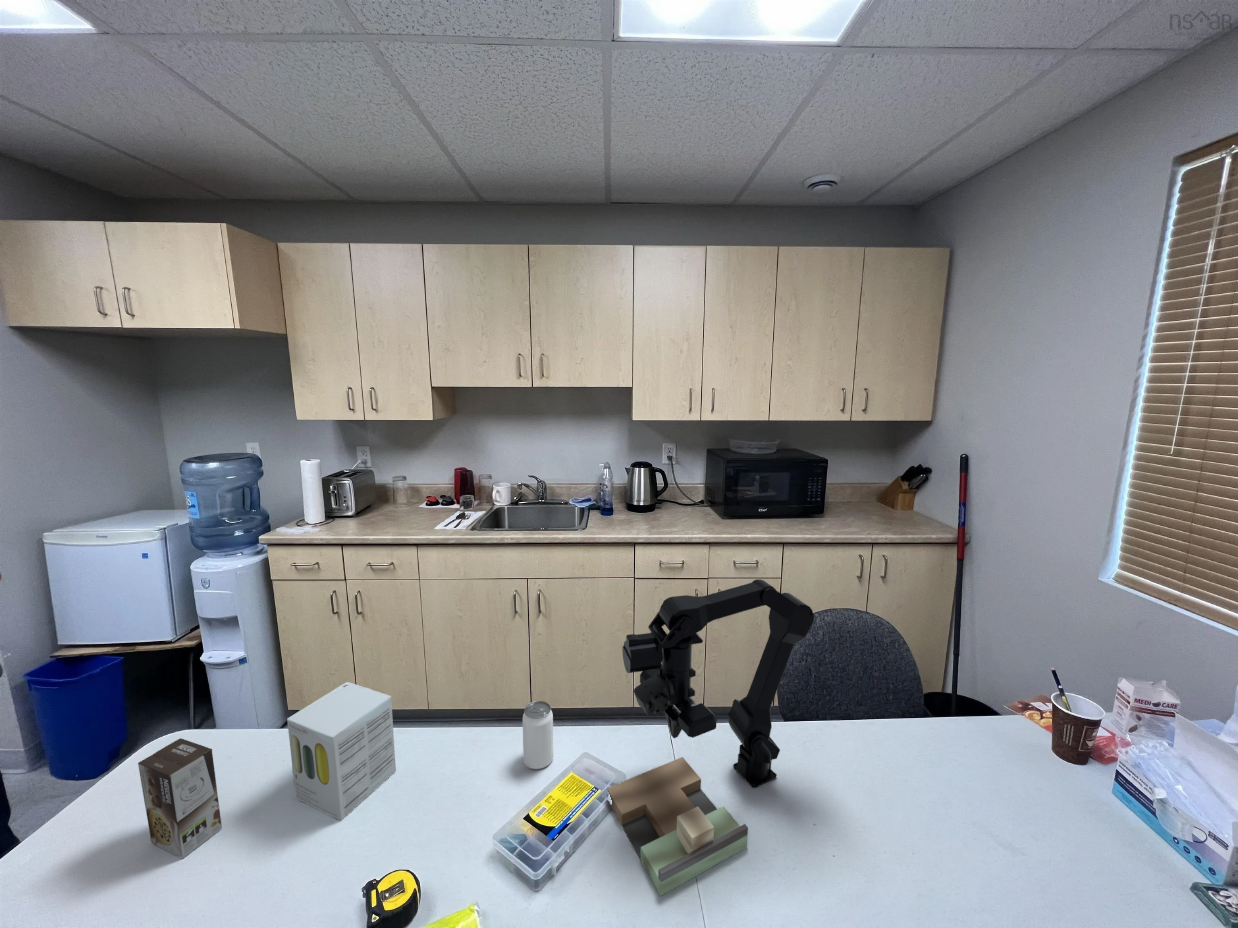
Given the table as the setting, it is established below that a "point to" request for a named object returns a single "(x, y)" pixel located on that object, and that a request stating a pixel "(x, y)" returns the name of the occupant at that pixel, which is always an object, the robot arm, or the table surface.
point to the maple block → (694, 830)
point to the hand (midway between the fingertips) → (674, 736)
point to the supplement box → (342, 748)
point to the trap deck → (672, 823)
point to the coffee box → (180, 796)
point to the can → (538, 735)
